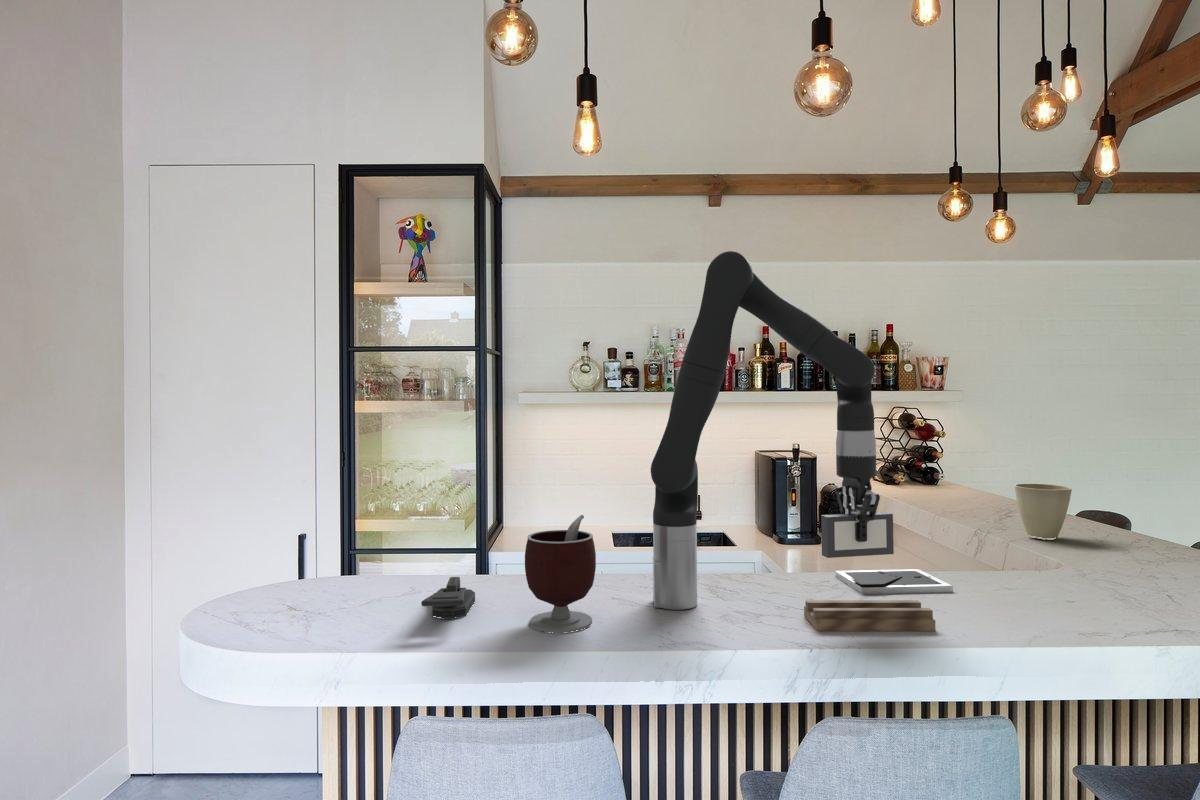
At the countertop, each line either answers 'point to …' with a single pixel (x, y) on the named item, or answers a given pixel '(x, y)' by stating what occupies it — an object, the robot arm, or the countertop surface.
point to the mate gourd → (560, 575)
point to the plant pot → (1042, 508)
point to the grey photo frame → (842, 536)
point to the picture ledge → (870, 624)
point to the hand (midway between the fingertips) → (857, 539)
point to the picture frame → (893, 581)
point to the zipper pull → (451, 600)
